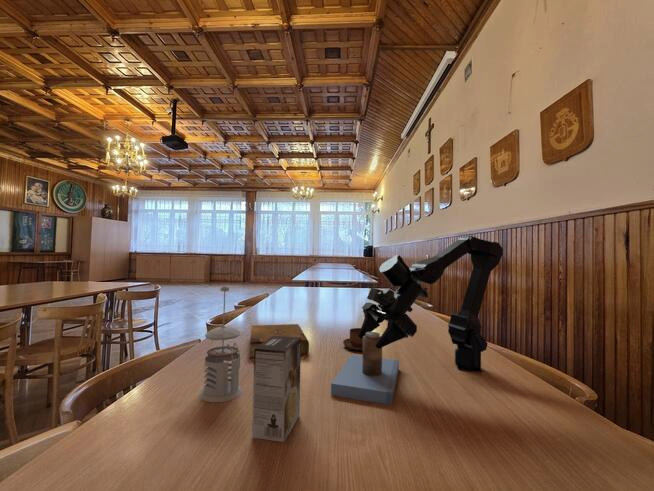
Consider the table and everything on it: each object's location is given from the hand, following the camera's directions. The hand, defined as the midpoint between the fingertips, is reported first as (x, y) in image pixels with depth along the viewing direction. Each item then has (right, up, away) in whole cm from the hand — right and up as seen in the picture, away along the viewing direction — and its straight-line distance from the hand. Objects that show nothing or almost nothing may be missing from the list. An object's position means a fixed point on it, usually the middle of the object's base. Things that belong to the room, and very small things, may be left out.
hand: (367, 342), depth 78 cm
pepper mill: (+1, -8, 0) cm, 8 cm away
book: (0, -11, +1) cm, 11 cm away
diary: (-28, -12, +29) cm, 42 cm away
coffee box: (-20, -10, -20) cm, 30 cm away
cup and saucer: (+1, -12, +30) cm, 33 cm away
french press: (-35, -10, -8) cm, 37 cm away
